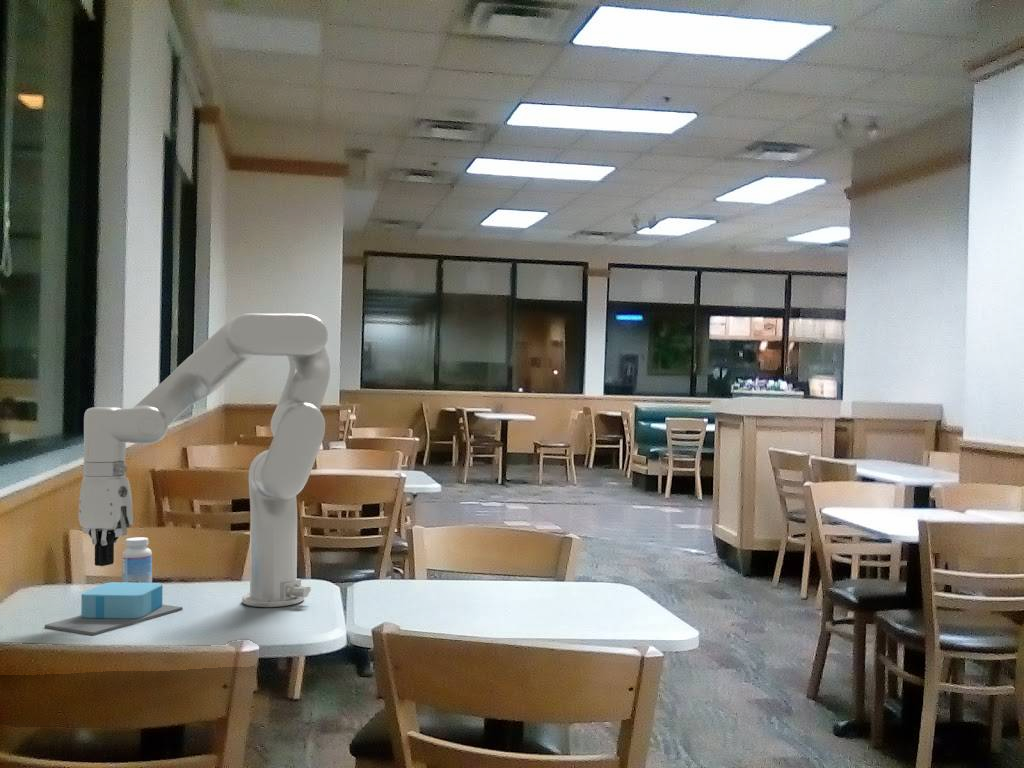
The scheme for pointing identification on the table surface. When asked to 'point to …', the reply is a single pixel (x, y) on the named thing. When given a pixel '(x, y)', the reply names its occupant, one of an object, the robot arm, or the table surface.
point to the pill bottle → (137, 561)
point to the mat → (105, 622)
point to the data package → (121, 600)
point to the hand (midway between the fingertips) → (104, 564)
